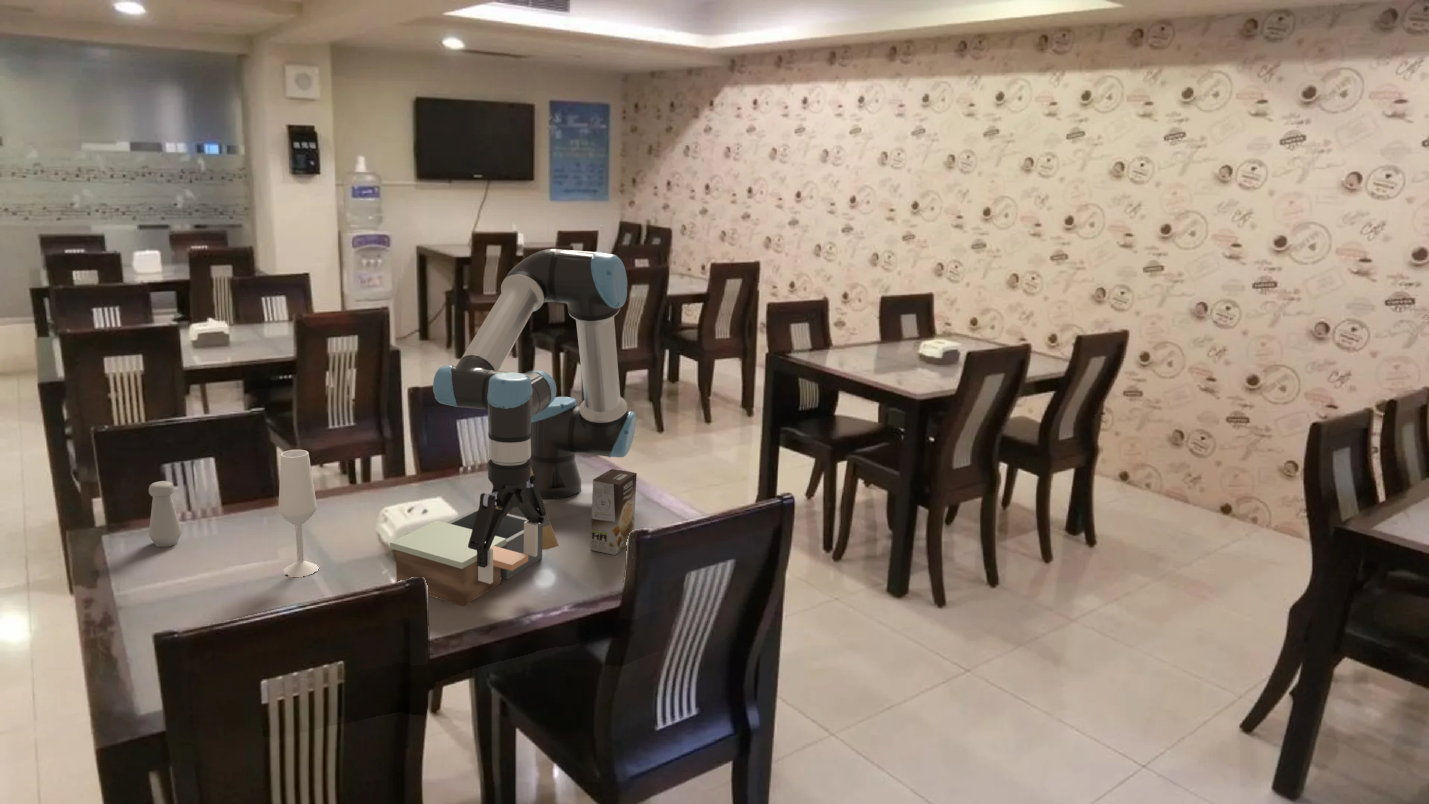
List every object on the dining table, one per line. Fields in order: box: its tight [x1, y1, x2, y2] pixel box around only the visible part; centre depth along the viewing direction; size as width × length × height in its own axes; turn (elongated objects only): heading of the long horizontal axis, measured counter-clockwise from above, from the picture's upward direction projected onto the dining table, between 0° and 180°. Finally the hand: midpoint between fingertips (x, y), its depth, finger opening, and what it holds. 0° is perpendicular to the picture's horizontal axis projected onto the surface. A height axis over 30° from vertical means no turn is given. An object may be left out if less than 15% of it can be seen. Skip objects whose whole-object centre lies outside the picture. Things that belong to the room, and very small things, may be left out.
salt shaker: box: [148, 480, 183, 548], centre depth 185 cm, size 6×6×13 cm
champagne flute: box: [278, 449, 320, 578], centre depth 176 cm, size 7×7×24 cm
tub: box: [446, 507, 543, 580], centre depth 188 cm, size 12×16×8 cm
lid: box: [389, 519, 528, 571], centre depth 173 cm, size 13×25×1 cm, turn 66°
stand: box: [395, 550, 502, 607], centre depth 176 cm, size 11×16×8 cm
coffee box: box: [589, 468, 638, 556], centre depth 198 cm, size 9×6×16 cm
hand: (508, 567), depth 170 cm, fingers open, 13 cm apart
